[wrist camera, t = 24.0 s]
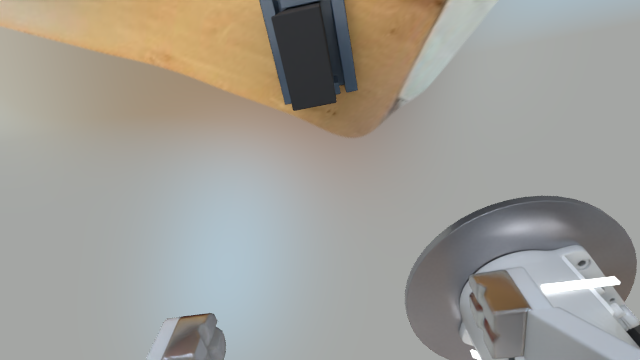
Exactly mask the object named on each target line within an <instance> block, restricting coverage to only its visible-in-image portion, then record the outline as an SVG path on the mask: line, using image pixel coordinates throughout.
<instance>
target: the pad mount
mask: <svg viewBox="0 0 640 360" xmlns="http://www.w3.org/2000/svg"><path fill="white" fill-rule="evenodd" d="M259 1H260V5H261V9H262V13H263V17H264V21H265V25H266V29H267V33H268V37H269V41H270V45H271V49H272V53H273V57H274V61H275V65H276V69H277V73H278V78H279V82H280V86H281V90H282V94H283V98H284V102H285V104H291V103H292V102H291V98H290V94H289V90H288V86H287V82H286V77H285V73H284V69H283V65H282V61H281V57H280V53H279V48H278V44H277V40H276V36H275V32H274V28H273V23H272V19H271V17H272V16H274V15H276V14H278V13H280V12H281V11H283V10H285V9H289V8H293V7H298V6H302V5H307V4H311V3H316V2H320V6H321V12H322V17H323V23H324V28H325V34H326V39H327V45H328V50H329V56H330V61H331V67H332V73H333V80H334V87H335V94H340V88H339V86H340V85H345V89H346V92H352V91H357V90H358V89H357V82H356V76H355V69H354V62H353V56H352V49H351V43H350V36H349V30H348V23H347V17H346V10H345V4H344V0H259Z"/></svg>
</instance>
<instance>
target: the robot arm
mask: <svg viewBox="0 0 640 360" xmlns="http://www.w3.org/2000/svg"><path fill="white" fill-rule="evenodd" d="M618 284H620V281H619V280H618V279H617V278H616V277H605V275H604V274H603V273H602V271H601V270H600V268H599V267H598V266H597V264H596V263H595V262H594V260H593V259H592V258H591V256H590V255H589V254H588V252H587V251H586V250H585V248H584V247H582V246H580V245H572V246H567V247H563V248H560V249H556V250H550V251H544V250H528V251H520V252H515V253H511V254H508V255H505V256H502V257H500V258H497V259H495V260H493V261H492V262H490V263H488V264H486V265H485V266H483V267H482V268H481V269H479V270H478V271H477V272H476V273H475V274H470V276H469V280H468V282H467V283H466V285H465V286H464V288H463V290H462V293H461V296H460V304H459V305H460V311H461V315H462V323H461V326H460V330H459V335H460V337H461V339H462V341H463V342H464V343H466V344H468V345H471V346H474V347H475V349H476V351H475V350H471V354H472V356H473V358H476V359H479V360H640V321H639V320H638V319H637V317H636V316H635V315H634V314H633V313H632V312H631V311H630V310H629V308H628V306H627V305H626V304H625V302H624V301H623V300H622V298H621V297H620V296H619V294H618V293H617V292H616V290H615V289H614V287H613V286H612V285H618ZM216 324H217V319H216V317H215V315H214V314H212V313H208V314H199V315H191V316H183V317H178V318H169V319H167V320H165V321H164V322H163V324H162V326H161V329H160V331H159V333H158V335H157V337H156V339H155V341H154V343H153V345H152V347H151V349H150V351H149V354H148V356H147V358H146V360H224V357H225V352H226V351H225V350H226V342H225V337H224V334H223V332H222V330H220V329H219V328H217V327H216Z"/></svg>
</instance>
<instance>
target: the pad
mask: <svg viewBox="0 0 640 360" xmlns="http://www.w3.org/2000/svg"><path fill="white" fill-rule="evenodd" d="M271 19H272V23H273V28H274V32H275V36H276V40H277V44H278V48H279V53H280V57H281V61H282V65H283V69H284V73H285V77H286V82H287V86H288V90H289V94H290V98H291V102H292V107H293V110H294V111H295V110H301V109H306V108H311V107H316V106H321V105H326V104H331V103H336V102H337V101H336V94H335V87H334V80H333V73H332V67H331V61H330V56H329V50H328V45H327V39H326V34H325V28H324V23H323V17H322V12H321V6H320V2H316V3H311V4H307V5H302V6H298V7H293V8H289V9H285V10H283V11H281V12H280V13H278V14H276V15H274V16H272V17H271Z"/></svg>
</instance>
